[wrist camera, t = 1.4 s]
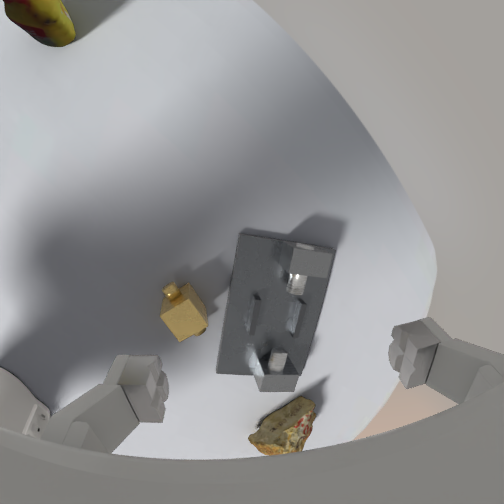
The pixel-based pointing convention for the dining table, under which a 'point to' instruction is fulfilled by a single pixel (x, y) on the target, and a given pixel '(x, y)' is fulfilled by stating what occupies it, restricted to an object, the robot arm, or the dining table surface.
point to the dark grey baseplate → (273, 310)
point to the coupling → (183, 311)
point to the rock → (285, 428)
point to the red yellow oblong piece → (42, 20)
